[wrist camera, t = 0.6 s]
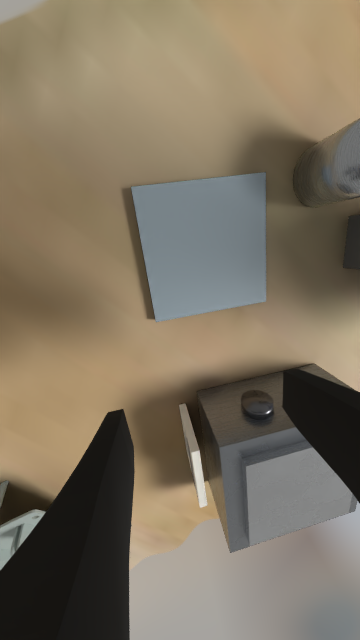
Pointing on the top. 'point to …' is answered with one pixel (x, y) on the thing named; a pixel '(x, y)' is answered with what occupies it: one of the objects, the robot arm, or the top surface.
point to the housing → (265, 463)
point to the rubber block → (352, 243)
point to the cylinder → (330, 169)
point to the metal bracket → (15, 529)
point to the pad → (203, 243)
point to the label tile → (193, 455)
